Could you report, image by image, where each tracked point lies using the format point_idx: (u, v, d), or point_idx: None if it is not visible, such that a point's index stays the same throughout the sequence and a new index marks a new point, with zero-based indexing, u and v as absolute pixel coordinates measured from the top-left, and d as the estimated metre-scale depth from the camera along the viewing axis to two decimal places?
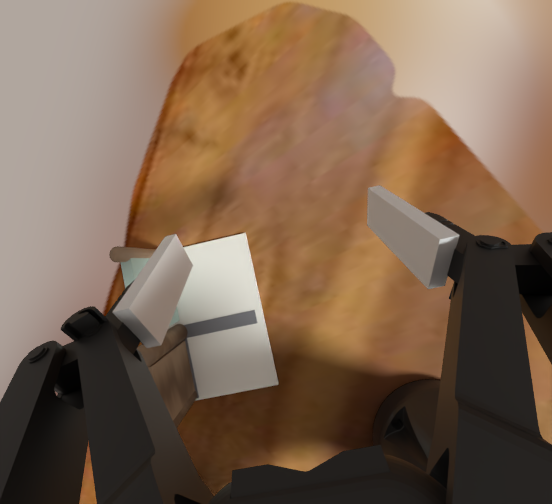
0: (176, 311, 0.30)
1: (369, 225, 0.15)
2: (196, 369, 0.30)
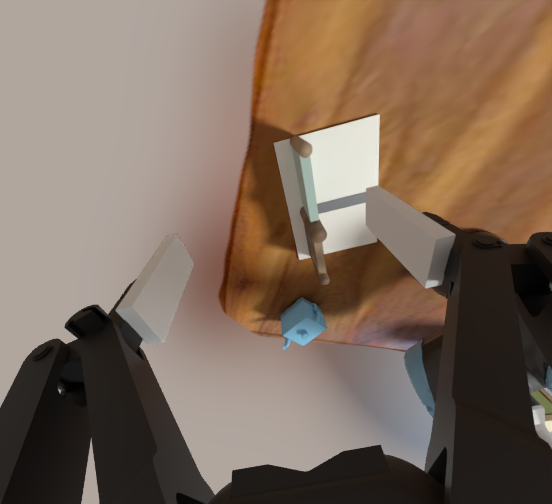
0: None
1: (367, 225, 0.15)
2: None
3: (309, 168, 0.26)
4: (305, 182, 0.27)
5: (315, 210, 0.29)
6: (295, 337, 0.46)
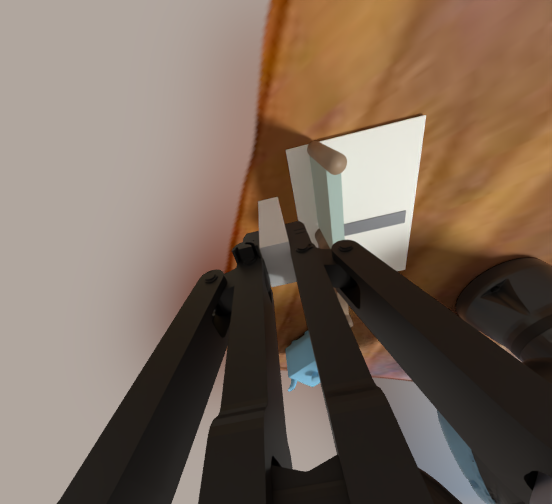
0: None
1: None
2: None
3: (338, 188, 0.19)
4: (331, 206, 0.20)
5: None
6: (303, 379, 0.39)
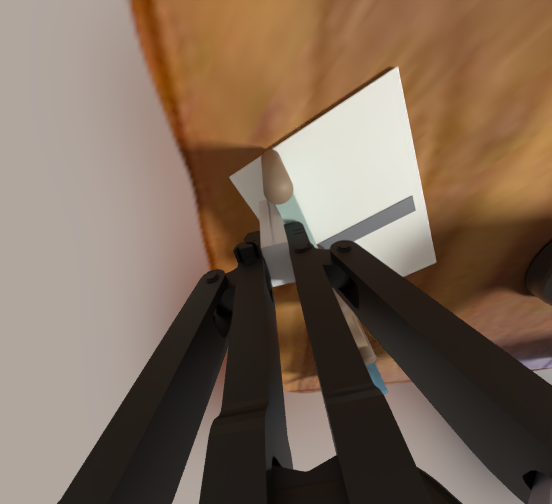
0: None
1: None
2: None
3: (297, 215, 0.14)
4: None
5: None
6: None
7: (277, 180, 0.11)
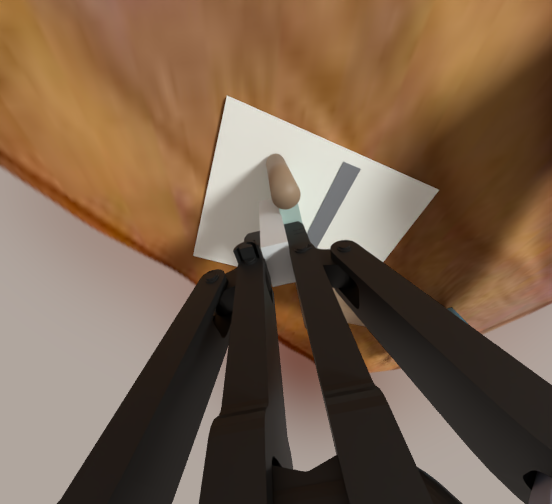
0: None
1: None
2: None
3: None
4: None
5: None
6: None
7: (286, 186, 0.12)
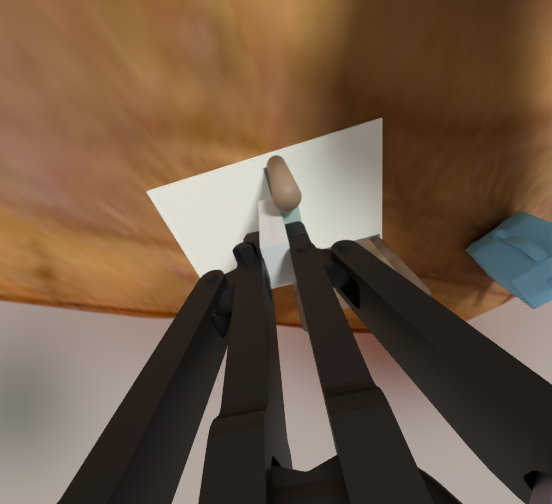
0: None
1: None
2: (344, 239, 0.24)
3: None
4: None
5: None
6: None
7: (288, 188, 0.12)
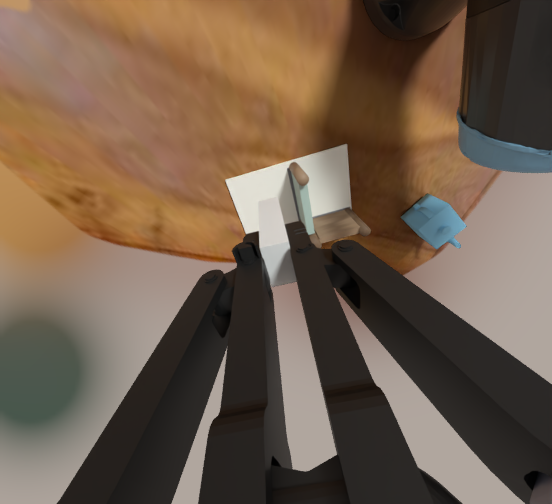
0: None
1: None
2: (330, 209, 0.42)
3: (306, 192, 0.32)
4: (303, 203, 0.33)
5: (311, 225, 0.35)
6: (446, 237, 0.40)
7: (303, 176, 0.30)
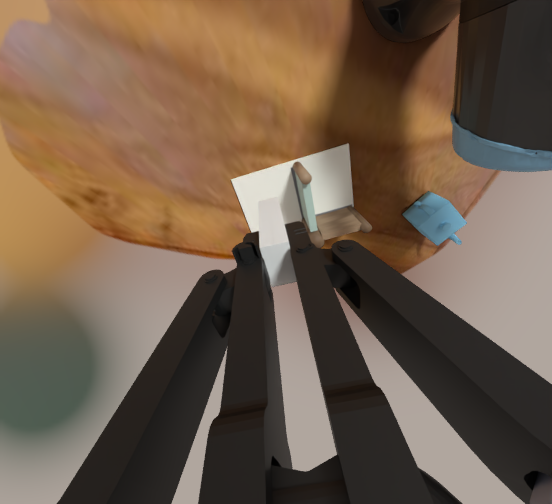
0: None
1: None
2: (332, 207, 0.43)
3: (309, 191, 0.33)
4: (306, 201, 0.34)
5: (314, 223, 0.36)
6: (447, 233, 0.41)
7: (306, 175, 0.31)
